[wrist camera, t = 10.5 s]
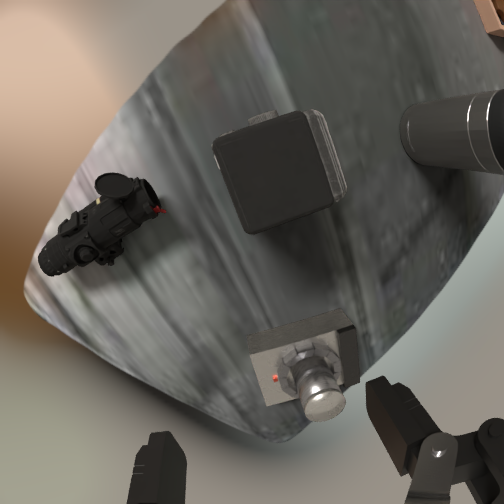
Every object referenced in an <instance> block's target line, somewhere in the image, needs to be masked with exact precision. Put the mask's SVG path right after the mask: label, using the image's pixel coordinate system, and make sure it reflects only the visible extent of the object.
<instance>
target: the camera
mask: <svg viewBox="0 0 504 504" xmlns="http://www.w3.org/2000/svg"><path fill="white" fill-rule="evenodd" d="M248 122H249V125H250V126H248V127H245V128H243V129H240V130H237V131H235V130H233V131H230V132H227V133H224V134H222V135H220V137H218V138H216V139H215V140H214V142H213V144H212V150H213V153H214V157H215V160H216V162H217V165H218V168H219V169H220V171H221V173H222V176H223V178H224V181H225V183H226V186H227V189H228V191H229V194H230V196H231V199H232V201H233V204H234V207H235V209H236V212H237V214H238V217H239V219H240V222H241V225H242V227H243V229H244V231H245V232H246V233H248V234H257V233H259V232H262V231H265V230H268V229H270V228H273V227H276V226H278V225H281V224H284V223H287V222H289V221H292V220H295V219H298V218H300V217H303V216H306V215H309V214H311V213H314V212H317V211H320V210H322V209H325V208H328V207H330V206H331V205H332V204H333V202H338V200H339V199H342V198H343V196H344V195H345V193H346V191H347V190H346V189H347V186H346V183H345V179H344V176H343V173H342V170H341V167H340V163H339V160H338V157H337V154H336V151H335V148H334V145H333V142H332V139H331V136H330V133H329V131H328V127H327V123H326V121H325V119H324V117H323V115H322V114H321V113H320V112H319V111H316V110H313V109H311V110H307V111H304V112H301V111H294V112H291V113H288V114H284V115H281V116H278V113H277V110H273V111H269V112H265V113H262V114H259V115H257V116H254V117H252V118H250V119H249V120H248Z"/></svg>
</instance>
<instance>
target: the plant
mask: <svg viewBox="0 0 504 504" xmlns="http://www.w3.org/2000/svg"><path fill="white" fill-rule="evenodd" d="M491 1H492V3H493V6H494V8H495V10H496V13H497V14H498V15H499V16H500V18H501V20H502V21H503V22H504V0H491Z"/></svg>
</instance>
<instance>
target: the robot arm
mask: <svg viewBox="0 0 504 504" xmlns="http://www.w3.org/2000/svg"><path fill="white" fill-rule="evenodd" d="M400 136H401V141H402V144H403V146H404V148H405V151H406V152H407V153H408V155H409V156H410V157H411V158H412V159H413V160H414V161H415V162H417V163H419V164H421V165H427V166H437V167H445V168H454V169H463V170H471V171H478V172H485V173H492V174H500V175H504V89H502V90H495V91H488V92H481V93H475V94H468V95H462V96H456V97H450V98H445V99H439V100H434V101H429V102H424V103H419V104H415V105H412V106H411V107H409V108H408V109H407V110H406V111H405V113H404V114H403V116H402V119H401V123H400ZM366 408H367V412H368V415H369V418H370V420H371V422H372V424H373V425H374V427H375V429H376V431H377V433H378V435H379V437H380V439H381V440H382V442H383V444H384V446H385V448H386V450H387V452H388V453H389V455H390V457H391V459H392V461H393V463H394V465H395V466H396V468H397V470H398V472H399V474H400V476H403V475H406V474H408V473H409V475H410V477H411V478H412V481H411V485H410V488H409V491H408V494H407V497H406V500H405V503H404V504H450V496H449V495H450V489H451V485H453V484H457V483H461V482H465V483H466V484H467V486H468V488H469V490H470V492H471V494H472V496H473V497H474V499H475V501H476V503H477V504H504V420H503V419H500V418H492V419H488V420H487V421H485V422H484V423H483V424H482V425H481V426H480V428H479V430H478V431H475V432H471V433H468V434H464V435H460V436H452V435H451V434H448V433H444V432H442V431H441V430H440V429H439V428H438V426H437V425H436V424H435V422H434V421H433V420H432V418H431V417H430V416H429V414H428V413H427V411H426V410H425V409H424V408H423V406H422V405H421V404H420V402H419V401H418V399H417V398H416V397H415V395H414V394H413V393H412V391H411V390H410V389H409V388H408V387H406V386H404V385H402V384H401V383H396V384H394V385H391V384H390V383H389V382H388V380H387V379H386V377H385V376H381V377H378V378H376V379H373V380H370V381H368V382H366ZM134 465H135V467H134V468H133V475H132V478H131V483H130V489H129V494H128V500H127V504H185V490H186V470H187V461H186V456H185V454H184V451H183V450H182V449H181V447H180V446H179V444H178V443H177V441H176V440H175V439H174V437H173V435H172V434H171V432H169V431H163V432H155V433H151V434H150V437H149V442H148V445H143V446H142V447H141V449H140V450H139V452H138V453H137V455H136V459H135V464H134Z"/></svg>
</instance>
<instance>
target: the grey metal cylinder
mask: <svg viewBox="0 0 504 504" xmlns="http://www.w3.org/2000/svg"><path fill="white" fill-rule="evenodd" d="M291 373H292V377H293V380H294V382H295V385H296V388H297V391H298V394H299V397H300V400H301V403H302V406H303V409H304V412H305V415H306V417H307V418H308V419H309V420H311V421H315V422H322V421H327V420H329V419H332V418H334V417H335V416H337V415H338V414H339V413H340V412H341V411H342V410H343V409H344V407H345V404H346V400H345V398H344V396H343V394H342V392H341V390H340V388H339V386H338V384H337V382H336V380H335V378H334V376H333V374H332V372H331V370H330V368H329V366H328V364H327V362H326V360H325V359H324V358H323V357H322V356H316V355H313V356H310V357H307V358H303V359H301V360H299V361H298V362H297V363H296V364H295V365H293V367H292V370H291Z"/></svg>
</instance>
